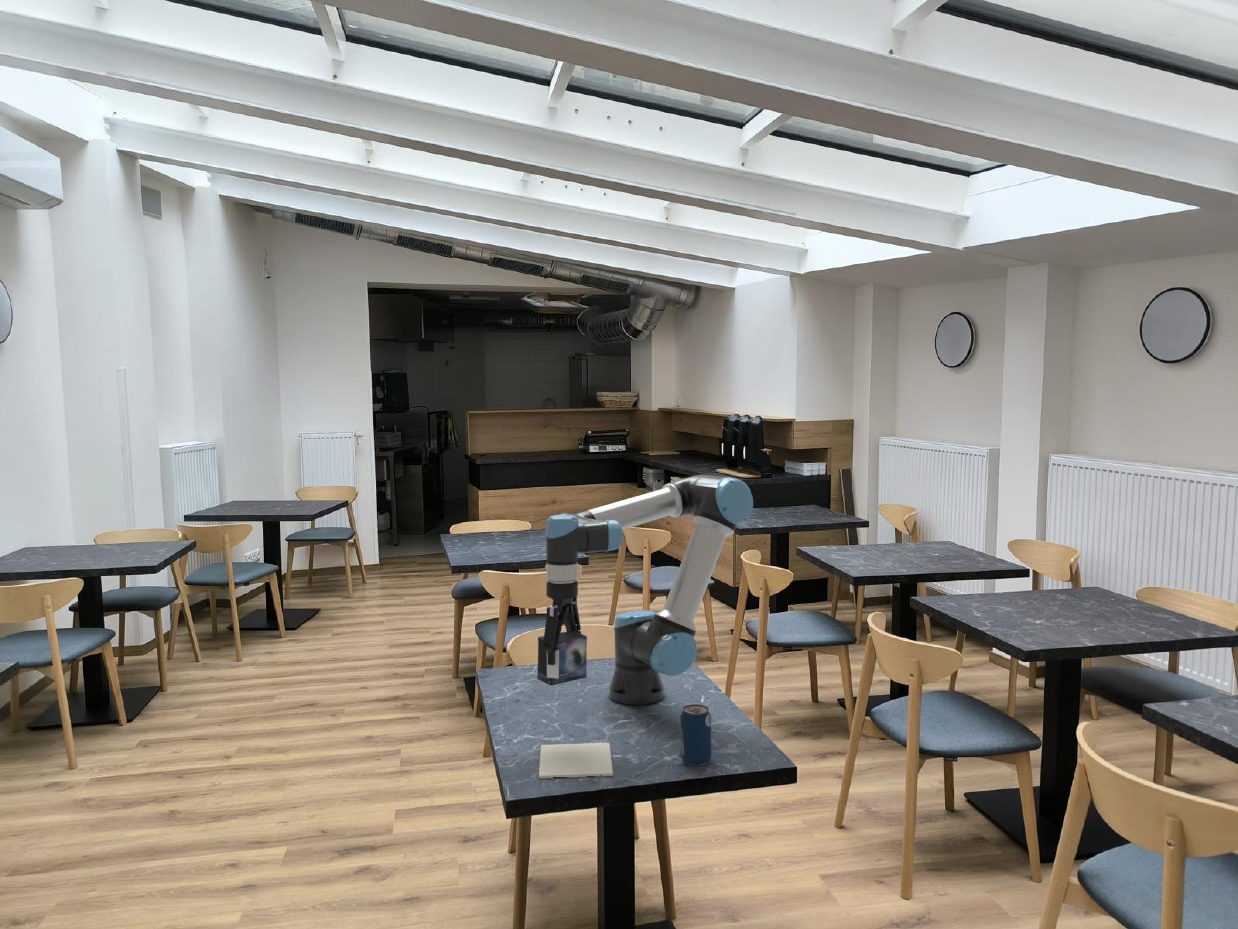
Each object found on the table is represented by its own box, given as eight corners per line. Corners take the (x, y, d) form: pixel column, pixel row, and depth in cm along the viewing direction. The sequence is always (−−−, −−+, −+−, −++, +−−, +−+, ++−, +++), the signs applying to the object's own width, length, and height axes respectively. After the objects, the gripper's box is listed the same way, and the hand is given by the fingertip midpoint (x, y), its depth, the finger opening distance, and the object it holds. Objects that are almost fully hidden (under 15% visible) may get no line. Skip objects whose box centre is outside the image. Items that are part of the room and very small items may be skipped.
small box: (551, 687, 196) (550, 643, 195) (536, 679, 201) (536, 636, 200) (588, 678, 202) (588, 635, 201) (572, 671, 207) (572, 629, 206)
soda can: (717, 760, 188) (717, 708, 187) (697, 770, 184) (697, 717, 183) (693, 751, 193) (693, 701, 192) (674, 761, 188) (673, 709, 187)
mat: (609, 745, 197) (609, 742, 197) (612, 775, 181) (612, 773, 181) (541, 747, 196) (541, 745, 196) (538, 778, 180) (538, 775, 180)
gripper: (565, 569, 212) (565, 653, 214) (527, 590, 189) (528, 683, 191) (593, 571, 210) (593, 656, 212) (558, 592, 187) (558, 687, 189)
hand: (562, 669), depth 201 cm, fingers closed on small box, 12 cm apart
